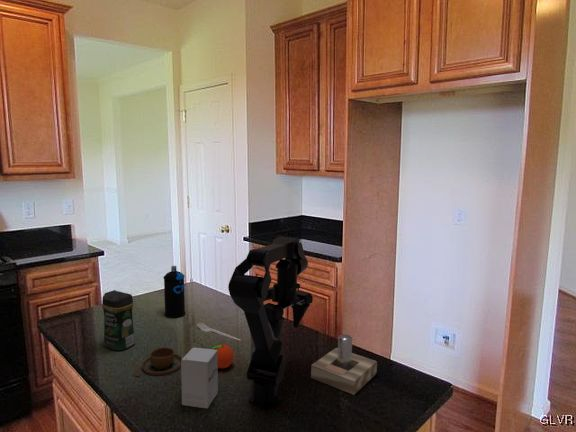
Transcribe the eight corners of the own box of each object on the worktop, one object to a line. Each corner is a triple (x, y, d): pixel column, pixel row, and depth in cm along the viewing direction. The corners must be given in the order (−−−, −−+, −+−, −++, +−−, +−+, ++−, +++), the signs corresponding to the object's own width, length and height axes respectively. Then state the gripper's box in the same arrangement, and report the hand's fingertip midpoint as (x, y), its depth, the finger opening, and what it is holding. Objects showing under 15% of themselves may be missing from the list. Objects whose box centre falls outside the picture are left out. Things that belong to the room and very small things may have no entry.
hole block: (353, 394, 112) (354, 380, 111) (311, 377, 120) (311, 364, 120) (376, 373, 123) (376, 360, 123) (335, 359, 131) (336, 347, 131)
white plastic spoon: (237, 344, 143) (237, 339, 143) (195, 329, 154) (195, 324, 153) (243, 340, 146) (243, 335, 146) (202, 326, 156) (202, 321, 156)
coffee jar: (99, 346, 138) (97, 293, 135) (119, 337, 145) (117, 286, 142) (119, 353, 133) (116, 298, 131) (139, 344, 140) (137, 291, 137)
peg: (349, 380, 119) (350, 341, 117) (335, 378, 121) (336, 339, 119) (352, 374, 123) (353, 335, 121) (338, 371, 124) (340, 333, 123)
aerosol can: (160, 316, 164) (158, 267, 161) (171, 309, 172) (170, 262, 169) (178, 319, 162) (177, 269, 159) (189, 312, 169) (188, 264, 167)
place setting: (187, 353, 136) (187, 336, 135) (204, 383, 118) (204, 363, 117) (130, 364, 128) (130, 346, 127) (139, 398, 110) (139, 377, 109)
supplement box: (208, 409, 105) (207, 362, 103) (181, 405, 106) (179, 359, 104) (218, 393, 112) (218, 349, 110) (193, 389, 113) (192, 346, 112)
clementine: (208, 374, 121) (207, 351, 120) (206, 363, 128) (205, 341, 127) (235, 371, 123) (235, 348, 122) (232, 360, 130) (231, 338, 129)
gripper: (284, 269, 130) (284, 316, 133) (243, 282, 116) (244, 335, 118) (314, 275, 124) (313, 325, 126) (274, 291, 109) (274, 347, 111)
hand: (286, 332), depth 120 cm, fingers open, 9 cm apart
